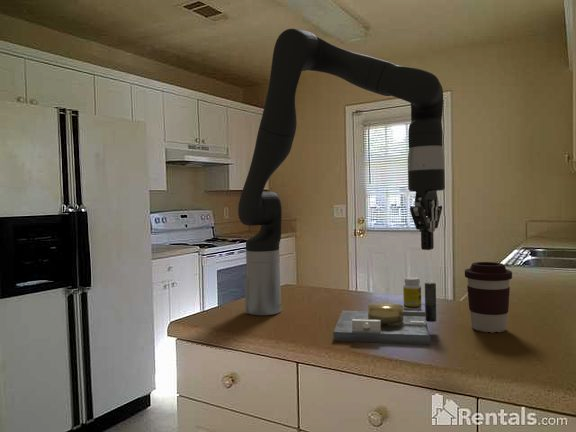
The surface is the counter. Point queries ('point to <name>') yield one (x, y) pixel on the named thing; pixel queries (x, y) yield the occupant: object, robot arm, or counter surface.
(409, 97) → the robot arm
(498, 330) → the coffee cup
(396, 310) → the cam capstan
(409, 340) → the stand
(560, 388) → the counter surface
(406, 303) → the supplement bottle
